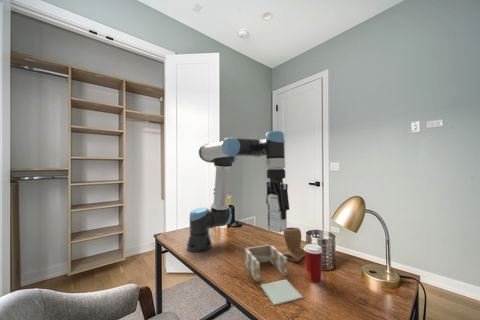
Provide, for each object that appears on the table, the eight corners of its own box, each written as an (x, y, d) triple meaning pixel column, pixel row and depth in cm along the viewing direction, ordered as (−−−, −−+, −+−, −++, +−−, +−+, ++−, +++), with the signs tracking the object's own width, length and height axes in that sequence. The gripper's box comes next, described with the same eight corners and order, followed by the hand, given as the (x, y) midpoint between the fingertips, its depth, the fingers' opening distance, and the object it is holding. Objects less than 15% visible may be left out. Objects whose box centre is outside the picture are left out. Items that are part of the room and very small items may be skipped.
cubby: (244, 264, 100) (244, 248, 101) (270, 259, 105) (270, 244, 105) (256, 282, 85) (256, 263, 85) (287, 275, 89) (286, 257, 89)
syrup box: (274, 226, 85) (273, 193, 85) (287, 229, 81) (286, 193, 82) (267, 230, 80) (266, 194, 81) (280, 233, 77) (279, 195, 77)
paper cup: (325, 278, 87) (324, 246, 87) (319, 286, 81) (318, 252, 81) (308, 272, 92) (307, 242, 92) (301, 279, 86) (300, 247, 86)
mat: (260, 286, 82) (260, 284, 82) (285, 280, 86) (285, 279, 86) (274, 305, 70) (273, 304, 70) (302, 298, 74) (302, 296, 74)
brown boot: (289, 248, 118) (288, 223, 119) (309, 254, 111) (308, 227, 111) (277, 258, 106) (276, 230, 107) (298, 264, 99) (297, 234, 99)
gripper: (257, 169, 90) (259, 219, 89) (280, 169, 71) (282, 233, 70) (272, 168, 92) (273, 217, 92) (298, 168, 73) (300, 230, 72)
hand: (277, 224), depth 81 cm, fingers closed on syrup box, 7 cm apart
